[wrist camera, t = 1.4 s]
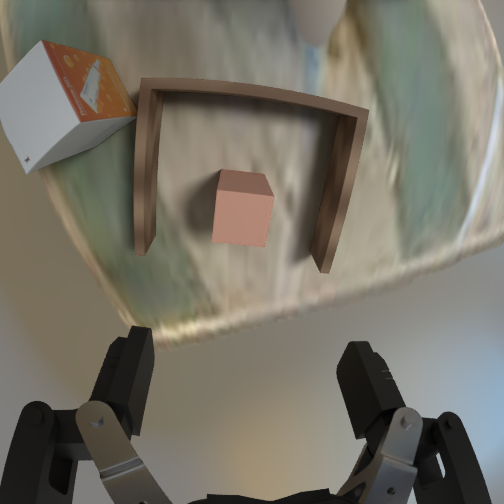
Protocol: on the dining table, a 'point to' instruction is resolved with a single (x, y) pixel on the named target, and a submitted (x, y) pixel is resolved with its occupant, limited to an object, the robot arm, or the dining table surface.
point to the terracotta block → (242, 208)
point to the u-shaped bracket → (349, 115)
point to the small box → (61, 104)
